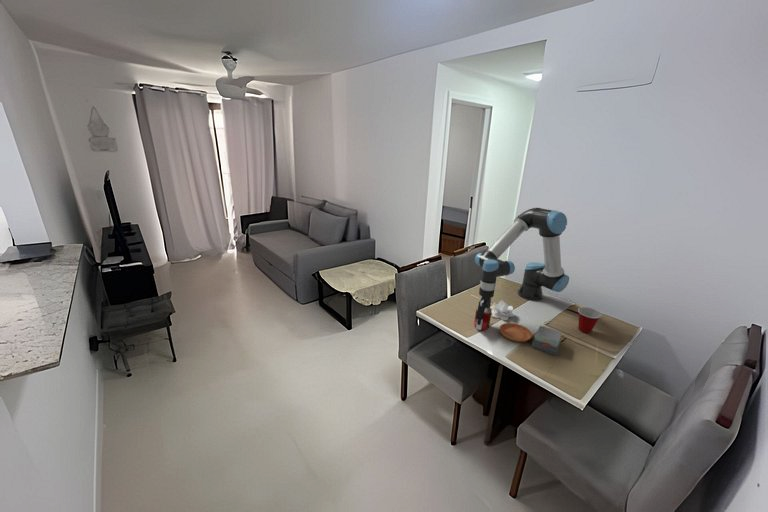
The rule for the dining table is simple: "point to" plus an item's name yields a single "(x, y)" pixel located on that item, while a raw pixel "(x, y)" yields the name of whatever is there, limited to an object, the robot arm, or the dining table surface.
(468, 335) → the dining table surface
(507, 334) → the saucer
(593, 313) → the plastic cup
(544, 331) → the stand
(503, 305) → the lotus flower
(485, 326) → the canned food
